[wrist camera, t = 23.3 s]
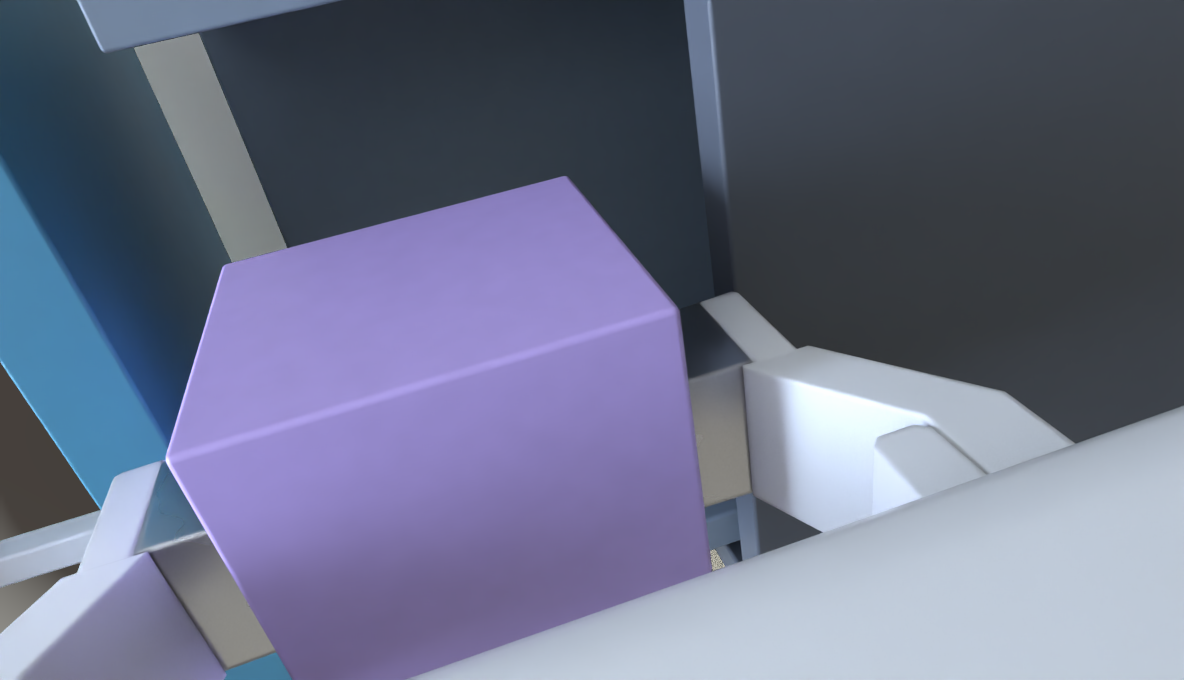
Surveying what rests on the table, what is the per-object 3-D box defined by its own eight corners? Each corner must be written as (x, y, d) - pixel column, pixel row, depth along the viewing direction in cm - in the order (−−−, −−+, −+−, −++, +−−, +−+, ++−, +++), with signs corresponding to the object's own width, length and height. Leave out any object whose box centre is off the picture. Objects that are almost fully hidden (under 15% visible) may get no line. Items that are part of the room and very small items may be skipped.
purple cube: (340, 525, 12) (343, 772, 9) (220, 263, 10) (159, 461, 6) (618, 437, 13) (722, 634, 9) (567, 172, 10) (681, 307, 7)
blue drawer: (29, 575, 18) (-108, 883, 13) (-420, 7, 12) (-1117, 112, 6) (792, 336, 21) (962, 498, 16) (766, -227, 15) (1040, -305, 9)
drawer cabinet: (620, 388, 22) (764, 636, 14) (505, -214, 14) (678, -322, 7) (1081, 243, 24) (1409, 395, 17) (1178, -342, 17) (1825, -523, 9)
